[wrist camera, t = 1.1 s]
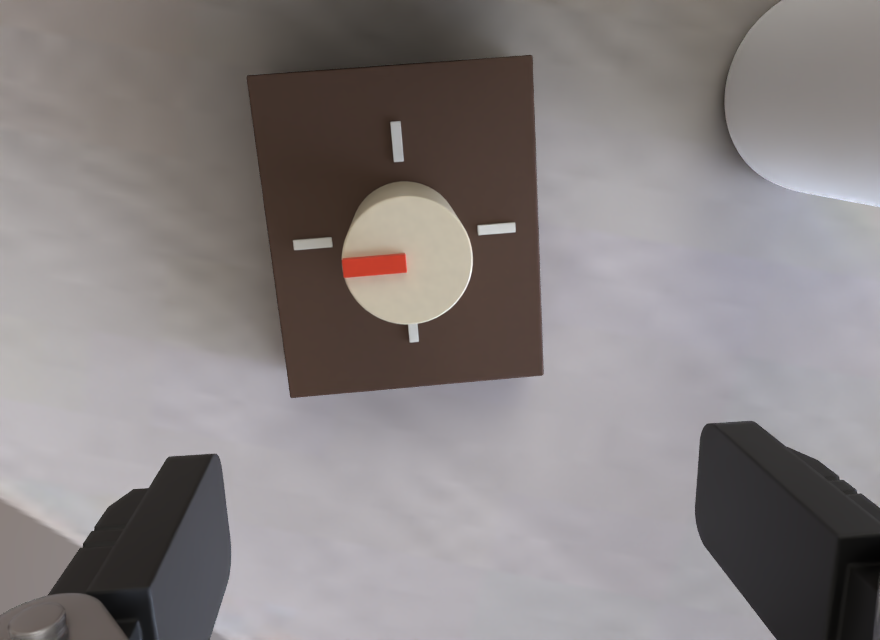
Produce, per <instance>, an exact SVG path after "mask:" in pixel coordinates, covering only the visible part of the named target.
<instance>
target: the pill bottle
mask: <svg viewBox="0 0 880 640" xmlns="http://www.w3.org/2000/svg"><path fill="white" fill-rule="evenodd" d="M725 116H726V122H727V127H728V130H729V133H730V136H731V139H732V141H733V143H734V145H735V147H736V149H737V151H738V152H739V154H740V155H741V157H742V158H743V160H744V161H745V162H746V163H747V164H748V165H749V166H750V167H751V168H752V169H753V170H754V171H755V172H756V173H758V174H759V175H760V176H762V177H763V178H765V179H766V180H768V181H770V182H772V183H774V184H777V185H779V186H781V187H784V188H787V189H790V190H793V191H797V192H802V193H808V194H813V195H818V196H824V197H829V198H834V199H839V200H845V201H850V202H855V203H861V204H866V205H871V206H877V207H880V0H782V1H780V2H779V3H777V4H776V5H775V6H773V7H772V8H771V9H769V10H768V11H767V12H766V13H765V14H764V15H763V16H762V17H761V18H760V19H759V20H758V21H757V22H756V23H755V24H754V25H753V26H752V28H751V29H750V30H749V32H748V33H747V34H746V36H745V37H744V39H743V40H742V42H741V44H740V46H739V47H738V49H737V51H736V54H735V56H734V58H733V61H732V63H731V66H730V69H729V73H728V77H727V81H726V88H725Z"/></svg>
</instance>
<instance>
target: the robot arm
mask: <svg viewBox="0 0 880 640" xmlns="http://www.w3.org/2000/svg"><path fill="white" fill-rule="evenodd" d="M695 517H696V524H697V528H698V532H699V535H700V538H701V540H702V542H703V544H704V546H705V547H706V549H707V550H708V551H709V553H710V554H711V555H712V556H713V558H714V559H715V560H716V562H717V563H718V564H719V565H720V567H721V568H722V569H723V571H724V572H725V573H726V574H727V576H728V577H729V578H730V580H731V581H732V582H733V584H734V585H735V586H736V587H737V589H738V590H739V591H740V593H741V594H742V595H743V596H744V598H745V599H746V600H747V602H748V603H749V604H750V606H751V607H752V608H753V609H754V611H755V612H756V613H757V615H758V616H759V617H760V618H761V620H762V621H763V622H764V624H765V625H766V626H767V628H768V629H769V630H770V631H771V633H772V634H773V635H774V637H775V638H776V639H777V640H880V508H879V507H878V506H877V505H875V504H874V503H873V502H871V501H870V500H869V499H868V498H866V497H865V496H864V495H862V494H857V490H856V489H855V488H853V487H852V486H851V485H849V484H848V483H847V482H845V481H844V480H840V479H839V476H838V475H836V474H835V473H834V472H832V471H831V470H830V469H829V468H827V467H826V466H825V465H823V464H822V463H821V462H819V461H818V460H816V459H814V458H811V457H809V456H807V455H805V454H802V453H800V452H798V451H795V450H793V449H791V448H789V447H786V446H784V445H783V444H782V443H781V442H779V441H778V440H777V439H776V438H774V437H773V436H772V435H771V434H769V433H768V432H767V431H766V430H764V429H763V428H762V427H761V426H759V425H758V424H757V423H755V422H753V421H742V422H726V423H710V424H707V425H705V426H704V428H703V430H702V433H701V437H700V448H699V461H698V475H697V489H696V503H695ZM94 528H95V529H94V531H91V533H90V534H89V536H88V537H87V539H86V540H85V542H84V543H83V548H80V549H79V550H78V552H77V554H76V555H75V556H74V558H73V559H72V561H71V562H70V564H69V565H68V566H67V568H66V569H65V571H64V572H63V574H62V575H61V577H60V578H59V580H58V581H57V583H56V584H55V585H54V587H53V588H52V590H51V591H50V593H49V594H48V596H45V597H41V598H37V599H34V600H31V601H29V602H25V603H23V604H21V605H18V606H16V607H14V608H12V609H10V610H8V611H6V612H5V613H3V614H1V615H0V640H210V637H211V634H212V631H213V628H214V624H215V621H216V618H217V615H218V612H219V609H220V605H221V602H222V599H223V596H224V593H225V590H226V586H227V583H228V580H229V574H230V566H231V541H230V532H229V524H228V515H227V507H226V499H225V490H224V482H223V473H222V466H221V462H220V459H219V456H218V455H217V454H203V455H187V456H171V457H168V458H167V459H166V461H165V462H164V464H163V466H162V467H161V469H160V471H159V472H158V474H157V475H156V477H155V479H154V480H153V482H152V484H151V485H150V487H149V488H146V489H133V490H132V491H130V492H129V493H128V494H126V495H125V496H123V497H122V498H120V499H119V500H118V501H116V502H115V503H113V504H112V505H111V506H109V507H108V508H107V510H106V511H105V512H104V514H103V515H102V517H101V518H100V520H99V521H98V523H97V524H96V526H95V527H94Z"/></svg>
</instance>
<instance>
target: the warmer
mask: <svg viewBox="0 0 880 640" xmlns="http://www.w3.org/2000/svg"><path fill="white" fill-rule="evenodd" d="M247 84H248V91H249V98H250V105H251V113H252V120H253V127H254V135H255V142H256V149H257V157H258V164H259V171H260V179H261V186H262V193H263V200H264V208H265V215H266V222H267V230H268V237H269V244H270V252H271V259H272V266H273V273H274V281H275V288H276V295H277V303H278V310H279V317H280V325H281V332H282V339H283V347H284V354H285V361H286V368H287V376H288V383H289V390H290V397H291V398H296V397H307V396H318V395H329V394H341V393H352V392H363V391H374V390H385V389H396V388H408V387H419V386H430V385H441V384H452V383H463V382H475V381H486V380H497V379H508V378H519V377H530V376H542V375H543V374H544V369H543V340H542V312H541V284H540V255H539V227H538V199H537V170H536V142H535V114H534V85H533V57H532V55H524V56H510V57H497V58H483V59H469V60H455V61H441V62H427V63H413V64H399V65H385V66H371V67H358V68H344V69H330V70H316V71H302V72H288V73H274V74H260V75H248V76H247ZM400 181H409V182H416V183H420V184H423V185H425V186H428V187H430V188H432V189H433V190H435V191H436V192H438V193H439V194H440V195H441V196H442V197H443V198H444V199H445V200H446V201H447V202H448V203H449V205H450V206H451V208H452V209H453V211H454V212H455V214H456V216H457V217H458V219H459V220H460V222H461V223H462V225H463V227H464V228H465V230H466V232H467V234H468V237H469V239H470V243H471V247H472V254H473V266H472V273H471V277H470V280H469V283H468V285H467V288H466V290H465V291H464V293H463V295H462V296H461V297H460V299H459V300H458V301H457V303H456V304H455V305H454V306H453V307H452V308H450V309H449V310H448V311H446V312H445V313H444V314H442V315H440V316H439V317H437V318H435V319H432V320H430V321H426V322H423V323H418V324H396V323H392V322H388V321H385V320H382V319H380V318H378V317H376V316H374V315H372V314H371V313H369V312H368V311H367V310H365V309H364V308H363V307H362V306H361V305H360V304H359V303H358V302H357V301H356V299H355V298H354V297H353V295H352V294H351V292H350V290H349V288H348V286H347V284H346V281H345V278H344V277H343V270H342V249H343V245H344V241H345V238H346V236H347V233H348V230H349V228H350V225H351V223H352V220H353V218H354V215H355V213H356V211H357V209H358V207H359V206H360V204H361V203H362V202H363V200H364V199H365V198H366V197H367V196H368V195H369V194H371V193H372V192H373V191H375V190H376V189H378V188H380V187H382V186H384V185H386V184H390V183H393V182H400Z"/></svg>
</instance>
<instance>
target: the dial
mask: <svg viewBox="0 0 880 640" xmlns="http://www.w3.org/2000/svg"><path fill="white" fill-rule="evenodd" d="M472 266H473V254H472V247H471V243H470V239H469V237H468V234H467V232H466V230H465V228H464V227H463V225H462V223H461V222H460V220H459V219H458V217H457V216H456V214H455V212H454V211H453V209H452V208H451V206H450V205H449V203H448V202H447V201H446V200H445V199H444V198H443V197H442V196H441V195H440V194H439V193H438V192H436V191H435V190H433V189H432V188H430V187H428V186H425V185H423V184H420V183H416V182H409V181H400V182H393V183H390V184H386V185H384V186H382V187H380V188H378V189H376V190H375V191H373V192H372V193H371V194H369V195H368V196H367V197H366V198H365V199H364V200H363V202H362V203H361V204H360V206H359V207H358V209H357V211H356V213H355V215H354V218H353V220H352V223H351V225H350V228H349V230H348V233H347V236H346V238H345V241H344V245H343V249H342V270H343V277H344V278H345V281H346V284H347V286H348V288H349V290H350V292H351V294H352V295H353V297H354V298H355V299H356V301H357V302H358V303H359V304H360V305H361V306H362V307H363V308H364V309H365V310H367V311H368V312H369V313H371V314H372V315H374V316H376V317H378V318H380V319H382V320H385V321H388V322H392V323H396V324H418V323H423V322H426V321H430V320H432V319H435V318H437V317H439V316H440V315H442V314H444V313H445V312H446V311H448V310H449V309H450V308H452V307H453V306H454V305H455V304H456V303H457V301H458V300H459V299H460V297H461V296H462V295H463V293H464V291H465V290H466V288H467V285H468V283H469V280H470V277H471V273H472Z"/></svg>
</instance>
